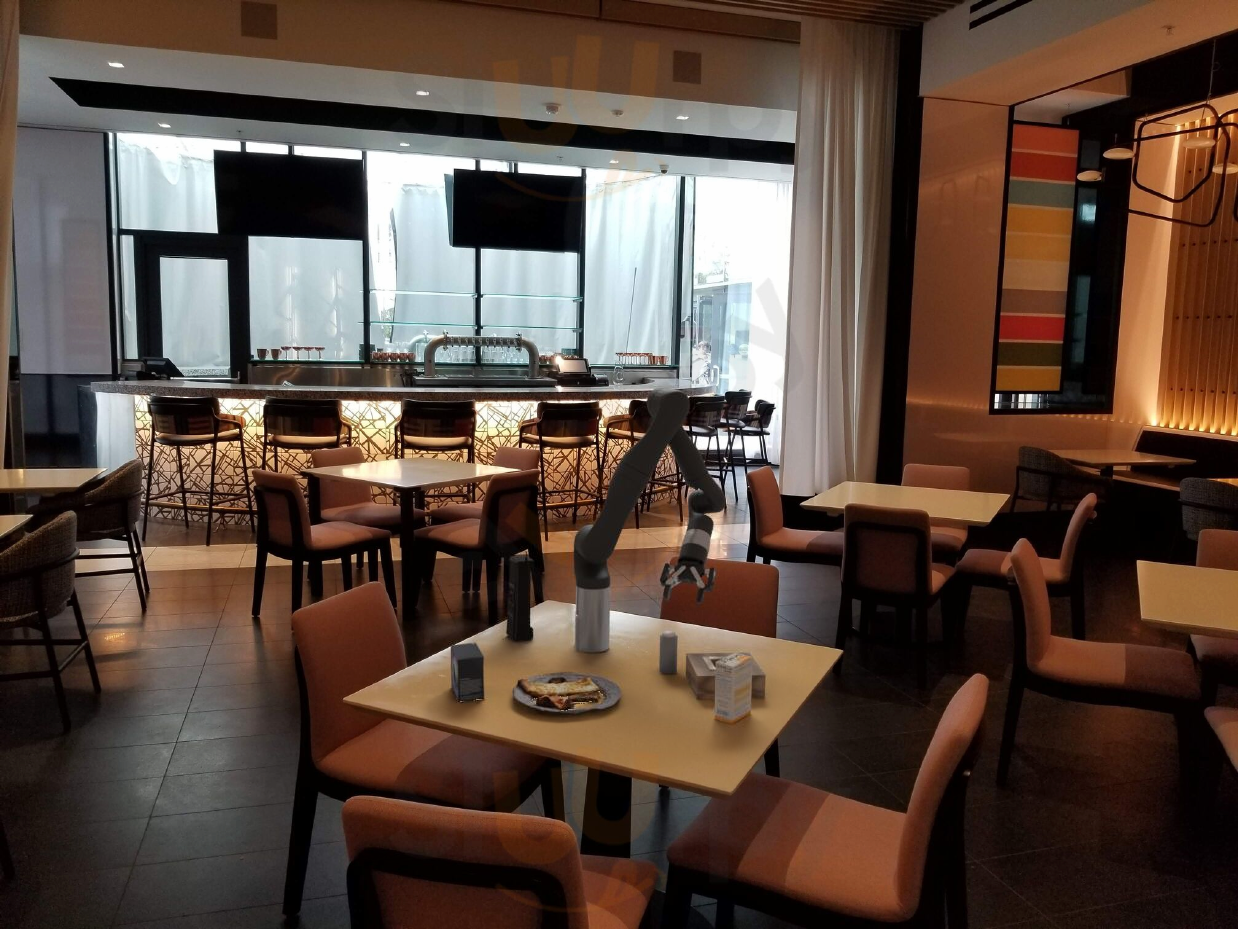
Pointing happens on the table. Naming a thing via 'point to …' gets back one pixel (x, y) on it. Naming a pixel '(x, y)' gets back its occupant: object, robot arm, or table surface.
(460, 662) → the small box
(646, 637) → the table surface
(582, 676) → the food plate
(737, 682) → the supplement box
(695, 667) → the socket block
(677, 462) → the robot arm
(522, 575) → the portable radio
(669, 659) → the grey bottle
